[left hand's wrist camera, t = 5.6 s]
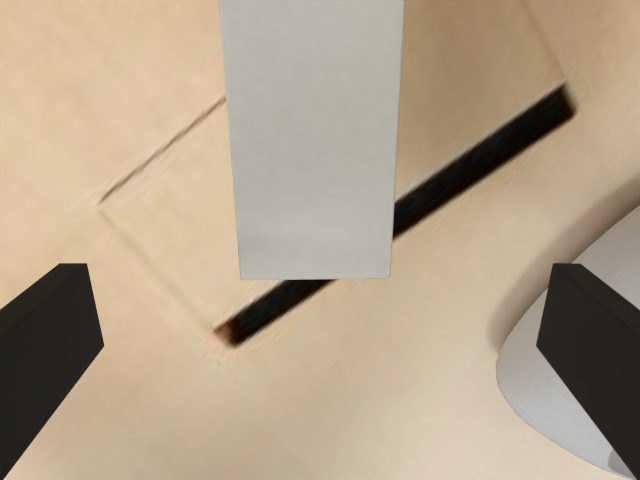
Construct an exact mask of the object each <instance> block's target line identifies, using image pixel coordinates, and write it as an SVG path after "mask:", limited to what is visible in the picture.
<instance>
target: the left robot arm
mask: <svg viewBox="0 0 640 480" xmlns="http://www.w3.org/2000/svg"><path fill="white" fill-rule="evenodd" d="M103 347H104V342H103V338H102V333H101V328H100V323H99V319H98V314H97V309H96V305H95V300H94V295H93V290H92V286H91V281H90V276H89V272H88V267H87V263H60V264H58V265H57V266H56V267H54V268H53V269H52V270H51V271H49V272H48V273H47V274H45V275H44V276H43V277H42V278H40V279H39V280H38V281H36V282H35V283H34V284H33V285H31V286H30V287H29V288H28V289H26V290H25V291H24V292H22V293H21V294H20V295H19V296H17V297H16V298H15V299H13V300H12V301H11V302H10V303H8V304H7V305H6V306H4V307H3V308H2V309H1V310H0V480H3V479H4V478H5V477H6V475H7V474H8V473H9V471H10V470H11V469H12V467H13V466H14V465H15V463H16V462H17V461H18V459H19V458H20V457H21V455H22V454H23V453H24V451H25V450H26V449H27V448H28V446H29V445H30V444H31V442H32V441H33V440H34V438H35V437H36V436H37V434H38V433H39V432H40V430H41V429H42V428H43V426H44V425H45V424H46V422H47V421H48V420H49V418H50V417H51V416H52V414H53V413H54V412H55V410H56V409H57V408H58V406H59V405H60V404H61V403H62V401H63V400H64V399H65V397H66V396H67V395H68V393H69V392H70V391H71V389H72V388H73V387H74V385H75V384H76V383H77V381H78V380H79V379H80V377H81V376H82V375H83V373H84V372H85V371H86V369H87V368H88V367H89V365H90V364H91V363H92V361H93V360H94V359H95V357H96V356H97V355H98V354H99V352H100V351H101V350H102V348H103ZM536 347H537V348H538V350H539V351H540V352H541V354H542V355H543V356H544V357H545V359H546V360H547V361H548V363H549V364H550V365H551V367H552V368H553V369H554V371H555V372H556V373H557V375H558V376H559V377H560V379H561V380H562V381H563V383H564V384H565V385H566V387H567V388H568V389H569V391H570V392H571V393H572V395H573V396H574V397H575V399H576V400H577V401H578V403H579V404H580V405H581V406H582V408H583V409H584V410H585V412H586V413H587V414H588V416H589V417H590V418H591V420H592V421H593V422H594V424H595V425H596V426H597V428H598V429H599V430H600V432H601V433H602V434H603V436H604V437H605V438H606V440H607V441H608V442H609V444H610V445H611V446H612V448H613V449H614V450H615V451H616V453H617V454H618V455H619V457H620V458H621V459H622V461H623V462H624V463H625V465H626V466H627V467H628V469H629V470H630V471H631V473H632V474H633V475H634V477H635V478H636V479H637V480H640V310H639V309H638V308H637V307H636V306H634V305H633V304H632V303H630V302H629V301H628V300H627V299H625V298H624V297H623V296H621V295H620V294H619V293H618V292H616V291H615V290H614V289H612V288H611V287H610V286H609V285H607V284H606V283H605V282H604V281H602V280H601V279H600V278H598V277H597V276H596V275H595V274H593V273H592V272H591V271H589V270H588V269H587V268H586V267H584V266H583V265H582V264H580V263H553V267H552V272H551V276H550V281H549V286H548V290H547V295H546V300H545V305H544V309H543V314H542V319H541V323H540V328H539V333H538V338H537V342H536Z"/></svg>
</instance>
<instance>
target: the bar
mask: <svg viewBox="0 0 640 480" xmlns="http://www.w3.org/2000/svg"><path fill="white" fill-rule="evenodd" d="M404 8H405V0H219V10H220V23H221V36H222V48H223V61H224V74H225V87H226V100H227V112H228V125H229V138H230V151H231V163H232V176H233V189H234V202H235V215H236V227H237V240H238V253H239V266H240V278H241V280H289V279H370V278H390V273H391V254H392V235H393V216H394V197H395V178H396V159H397V140H398V121H399V102H400V83H401V64H402V46H403V27H404Z"/></svg>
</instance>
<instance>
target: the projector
mask: <svg viewBox="0 0 640 480" xmlns="http://www.w3.org/2000/svg"><path fill="white" fill-rule="evenodd" d="M572 263H580V264H582V265H583V266H584V267H586V268H587V269H588V270H589V271H591V272H592V273H593V274H595V275H596V276H597V277H598V278H600V279H601V280H602V281H604V282H605V283H606V284H607V285H609V286H610V287H611V288H612V289H614V290H615V291H616V292H618V293H619V294H620V295H621V296H623V297H624V298H625V299H627V300H628V301H629V302H630V303H632V304H633V305H634V306H636V307H637V308H638V309H639V310H640V205H639V206H638V207H636V208H635V209H634V210H633V211H631V212H630V213H629V214H627V215H626V216H625V217H624V218H622V219H621V220H620V221H619V222H617V223H616V224H615V225H614V226H612V227H611V228H610V229H609V230H608V231H606V232H605V233H604V234H603V235H602V236H601V237H599V238H598V239H597V240H596V241H595V242H594V243H593V244H591V245H590V246H589V247H588V248H587V249H586V250H585V251H584V252H583V253H582V254H581V255H580V256H578V257H577V258H576V259H575V260H574V261H573V262H572ZM547 290H548V288H547V289H546V290H545V291H544V292H543V293H542V294H541V295H540V296H539V297H538V299H537V300H536V301H535V302H534V303H533V304H532V306H531V307H530V308H529V309H528V310H527V311H526V313H525V314H524V315H523V316H522V318H521V319H520V320H519V321H518V323H517V324H516V325H515V327H514V328H513V330H512V331H511V333H510V334H509V335H508V337H507V339H506V340H505V342H504V344H503V346H502V348H501V350H500V352H499V355H498V359H497V363H496V378H497V383H498V385H499V388H500V390H501V392H502V394H503V396H504V398H505V399H506V401H507V402H508V404H509V405H510V406H511V407H512V409H513V410H514V411H515V412H516V413H517V414H518V416H519V417H521V418H522V419H523V420H524V421H525V422H526V423H527V424H528V425H530V426H531V427H532V428H534V429H535V430H536V431H538V432H539V433H541V434H542V435H543V436H545V437H546V438H548V439H549V440H551V441H552V442H554V443H556V444H557V445H559V446H560V447H562V448H564V449H565V450H567V451H569V452H570V453H572V454H574V455H575V456H577V457H579V458H581V459H583V460H585V461H587V462H589V463H591V464H593V465H595V466H597V467H599V468H601V469H603V470H606V471H608V472H611V473H613V474H616V475H619V476H621V477H624V478H628V479H631V480H637V479H636V478H635V477H634V475H633V474H632V473H631V471H630V470H629V469H628V467H627V466H626V465H625V463H624V462H623V461H622V459H621V458H620V457H619V455H618V454H617V453H616V451H615V450H614V449H613V448H612V446H611V445H610V444H609V442H608V441H607V440H606V438H605V437H604V436H603V434H602V433H601V432H600V430H599V429H598V428H597V426H596V425H595V424H594V422H593V421H592V420H591V418H590V417H589V416H588V414H587V413H586V412H585V410H584V409H583V408H582V406H581V405H580V404H579V403H578V401H577V400H576V399H575V397H574V396H573V395H572V393H571V392H570V391H569V389H568V388H567V387H566V385H565V384H564V383H563V381H562V380H561V379H560V377H559V376H558V375H557V373H556V372H555V371H554V369H553V368H552V367H551V365H550V364H549V363H548V361H547V360H546V359H545V357H544V356H543V355H542V354H541V352H540V351H539V350H538V348H537V347H536V342H537V338H538V333H539V328H540V323H541V319H542V314H543V309H544V305H545V300H546V295H547Z"/></svg>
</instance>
